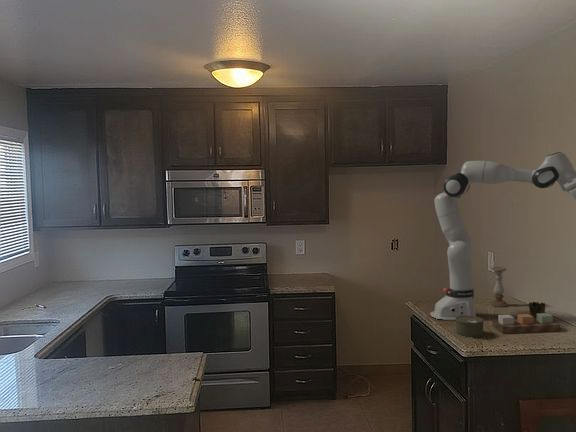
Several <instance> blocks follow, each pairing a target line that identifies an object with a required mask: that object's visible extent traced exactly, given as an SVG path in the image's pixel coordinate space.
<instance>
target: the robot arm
mask: <svg viewBox="0 0 576 432" xmlns="http://www.w3.org/2000/svg"><path fill="white" fill-rule="evenodd" d="M507 182H519V183H529V184H532V185H534V186H535V187H536V188H539V189H547V188H551V187H552V186H553V185H554V184H555V183H556V182H557V183H558V185H559V187H560V188H561V190H562V191H563V192H567V194H569V195H571V197H572V198H573V199H574V200H575V201H576V170H575V168H574V165H573V163H572V161H571V160H570V159H569V157H568V156H567V155H566V154H565V153H564V152H561V151H557V152H555V153H554V152H553V153H551V154H548V155H546V156H545V158H544V160H543V161H542V163H541V164H540V165H539V166H538V168H535V169H525V168H517V167H516V168H515V167H510V166H508V165H506V164H504V163H503V164H502V163H499V162H496V161H492V160H468V161H465V162H464V163H463V165H462V166H461V170H460V172H457V173H455V174H453V175H450V176H448V177H446V179H444V181H443V185H442V187H443V192H441V193H439V194H437V195H436V196H435V197H434V200H433V201H434V208H435V213H436V216H437V220H438V222H439V225H440V228H441V231H442V233H443V235H444V236H445V239H446V241H447V242H448V245H449V246H448V247H447V250H446V252H447V253H446V254H447V263H448V271H449V287H448V288H446V287H444V288H443V289H442V291H443V292H444V293H445V296H444V297H442V298H441V299H440V300H438V301H437V302H436V303H435V305H434V311H431V312H429V315H431V316H432V317H434V318H436V319H435V320H437V319H443V320H442V321H456V318H457V317H459V316H476V317H477V314H476V310H475V304H474V303H475V302H474V298H475V292H474V290H475V289H474V287H473V286H474V285H473V284H474V283H473V278H474V276H473V270H472V258H471V257H472V256H473V254H474V252H475V246H474V244H473V242H472V240H471V236H470V235H469V233H468V230H467V228H466V226H465V223H464V221H463V218H462V214H461V212H460V209H459V206H458V199H460V198H461V197H462V196H464V195H466V194H467V192H468V191H469V190H470V184H474V183H475V184H476V183H479V184H486V185H491V184H493V185H494V184H495V185H497V184H502V183H507ZM431 316H430V317H431ZM432 317H431V318H432ZM434 318H433V319H434Z"/></svg>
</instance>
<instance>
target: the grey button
mask: <svg viewBox="0 0 576 432" xmlns="http://www.w3.org/2000/svg"><path fill="white" fill-rule="evenodd" d="M497 318H498V319H497V320H498V323H500V324H502V325H514V319H515V316H512V315H510V314H498V317H497Z"/></svg>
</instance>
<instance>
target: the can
mask: <svg viewBox="0 0 576 432" xmlns="http://www.w3.org/2000/svg"><path fill="white" fill-rule="evenodd" d="M455 331H456V332H455V333H457V334H458V335H457V334H456V335H457V336H459V335H461V336H460V337H462V336H465V337H464V338H467V337H478V338H481V336H482V337H483V336H484V318H482V317H479V316H477V315H476V316H459V317H457V318H456V320H455Z"/></svg>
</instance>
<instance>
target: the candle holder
mask: <svg viewBox="0 0 576 432" xmlns="http://www.w3.org/2000/svg"><path fill="white" fill-rule="evenodd" d="M490 270H491V271H493V272H494V273H495V277H494V278H495V284H494V285H495V286H494V287H493V294H494V295H493V296H494V298H495V299H494V300H491V302H490V306H492V307H497V308H504V307H505V308H506V307H508V306H509V304H508V302H506V301H505V300H503V298H504V295H503V294H505V288H504V286H503V282H502V279H503V276H502V275H503V273H504V272H506V271H507V268H506V267H501V266H495V267H491V268H490Z"/></svg>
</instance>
